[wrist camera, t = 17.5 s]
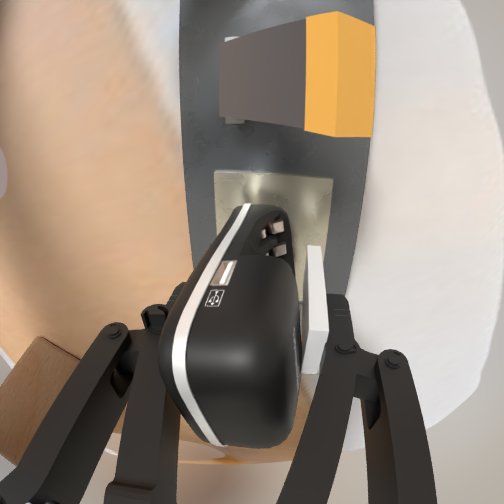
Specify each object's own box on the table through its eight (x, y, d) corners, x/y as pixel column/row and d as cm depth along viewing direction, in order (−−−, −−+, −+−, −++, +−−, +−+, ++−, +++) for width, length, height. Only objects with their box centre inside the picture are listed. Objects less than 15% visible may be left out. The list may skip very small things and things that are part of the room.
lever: (214, 123, 15) (334, 148, 8) (213, 38, 12) (337, 1, 6) (245, 121, 15) (370, 146, 9) (245, 41, 13) (375, 18, 7)
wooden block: (37, 331, 34) (-30, 428, 17) (89, 362, 35) (28, 475, 18) (48, 365, 40) (-3, 450, 22) (94, 392, 40) (48, 486, 23)
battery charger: (308, 296, 19) (294, 465, 10) (251, 298, 20) (205, 455, 10) (300, 194, 16) (281, 364, 6) (233, 200, 17) (136, 352, 7)
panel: (203, 279, 24) (195, 297, 22) (195, -69, 10) (183, -82, 8) (339, 290, 23) (342, 309, 21) (357, -69, 9) (363, -84, 7)
